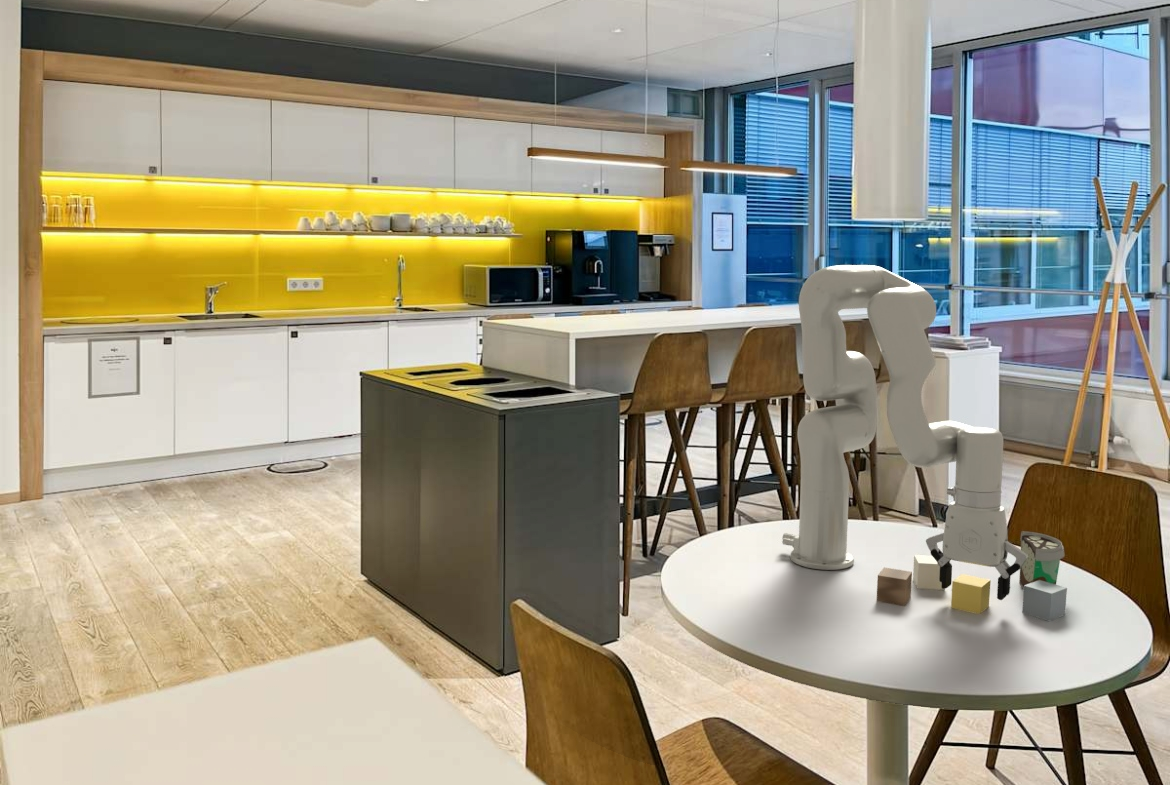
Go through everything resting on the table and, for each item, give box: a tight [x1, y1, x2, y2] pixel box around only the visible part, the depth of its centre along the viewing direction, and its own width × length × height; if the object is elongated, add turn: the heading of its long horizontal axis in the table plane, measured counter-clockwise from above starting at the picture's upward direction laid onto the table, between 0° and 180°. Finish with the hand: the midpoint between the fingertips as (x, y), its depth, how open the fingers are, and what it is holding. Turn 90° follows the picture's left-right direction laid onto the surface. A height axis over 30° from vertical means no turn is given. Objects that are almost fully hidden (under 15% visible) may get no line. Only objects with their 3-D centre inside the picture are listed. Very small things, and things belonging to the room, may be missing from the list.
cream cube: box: [912, 554, 946, 591], centre depth 187 cm, size 5×5×5 cm
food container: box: [1018, 531, 1066, 591], centre depth 182 cm, size 12×6×10 cm, turn 168°
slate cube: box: [1021, 580, 1068, 622], centre depth 172 cm, size 5×5×5 cm
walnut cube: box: [876, 567, 913, 607], centre depth 179 cm, size 5×5×5 cm
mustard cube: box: [950, 573, 991, 615], centre depth 175 cm, size 5×5×5 cm
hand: (973, 592), depth 174 cm, fingers open, 9 cm apart
